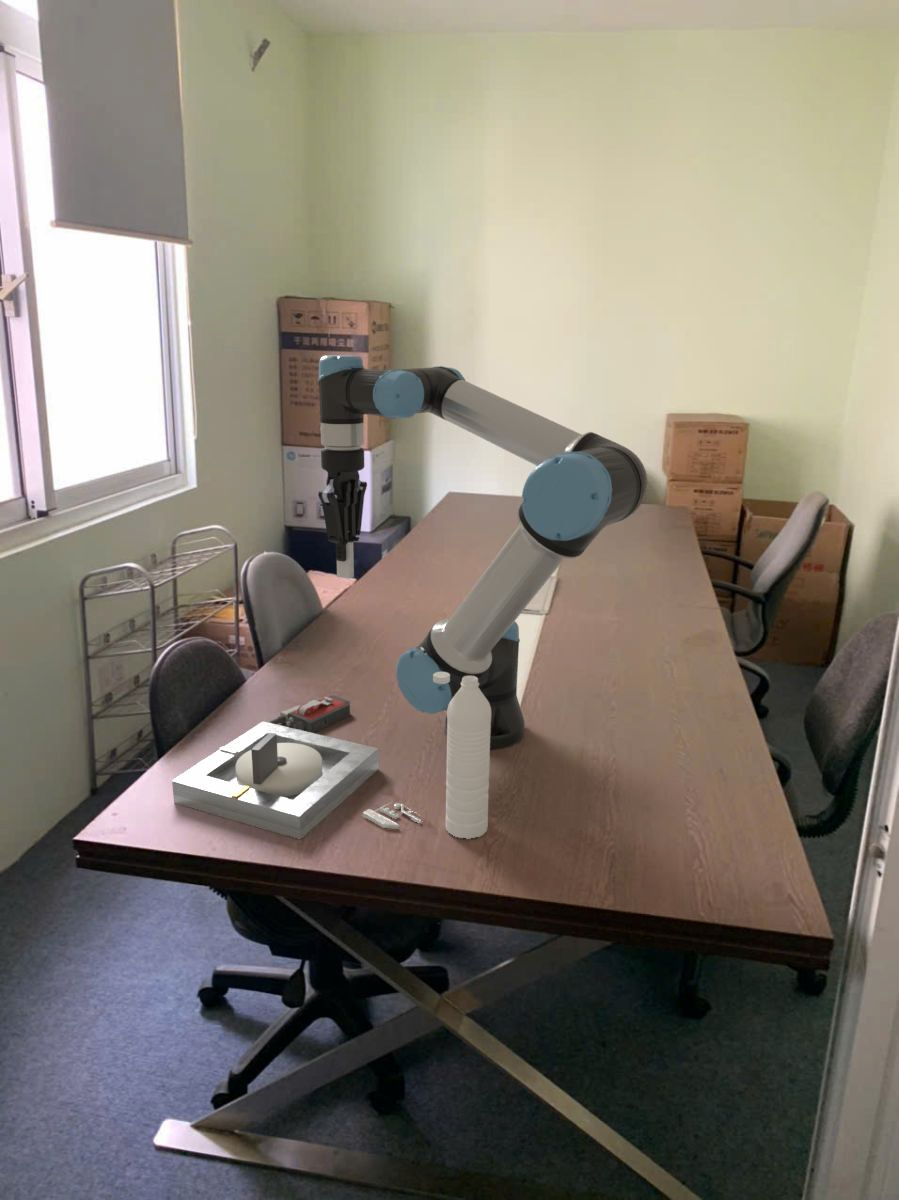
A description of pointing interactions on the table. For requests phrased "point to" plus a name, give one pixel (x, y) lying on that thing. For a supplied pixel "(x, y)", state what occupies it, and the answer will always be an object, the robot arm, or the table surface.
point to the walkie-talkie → (315, 714)
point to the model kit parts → (385, 821)
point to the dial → (279, 767)
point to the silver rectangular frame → (291, 815)
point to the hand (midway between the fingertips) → (345, 576)
